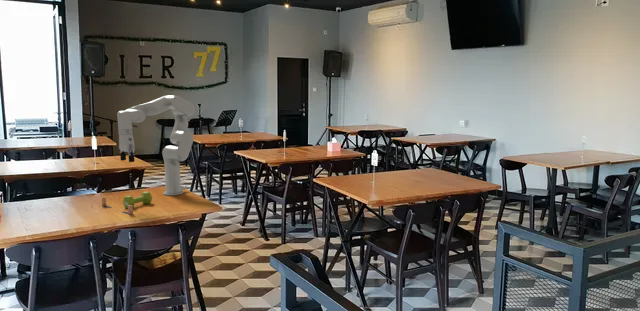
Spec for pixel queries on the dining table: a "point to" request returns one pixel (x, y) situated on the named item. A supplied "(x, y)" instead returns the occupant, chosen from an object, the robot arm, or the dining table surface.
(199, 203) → the dining table surface
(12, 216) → the dining table surface
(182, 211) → the dining table surface
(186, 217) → the dining table surface
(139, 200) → the dumbbell
